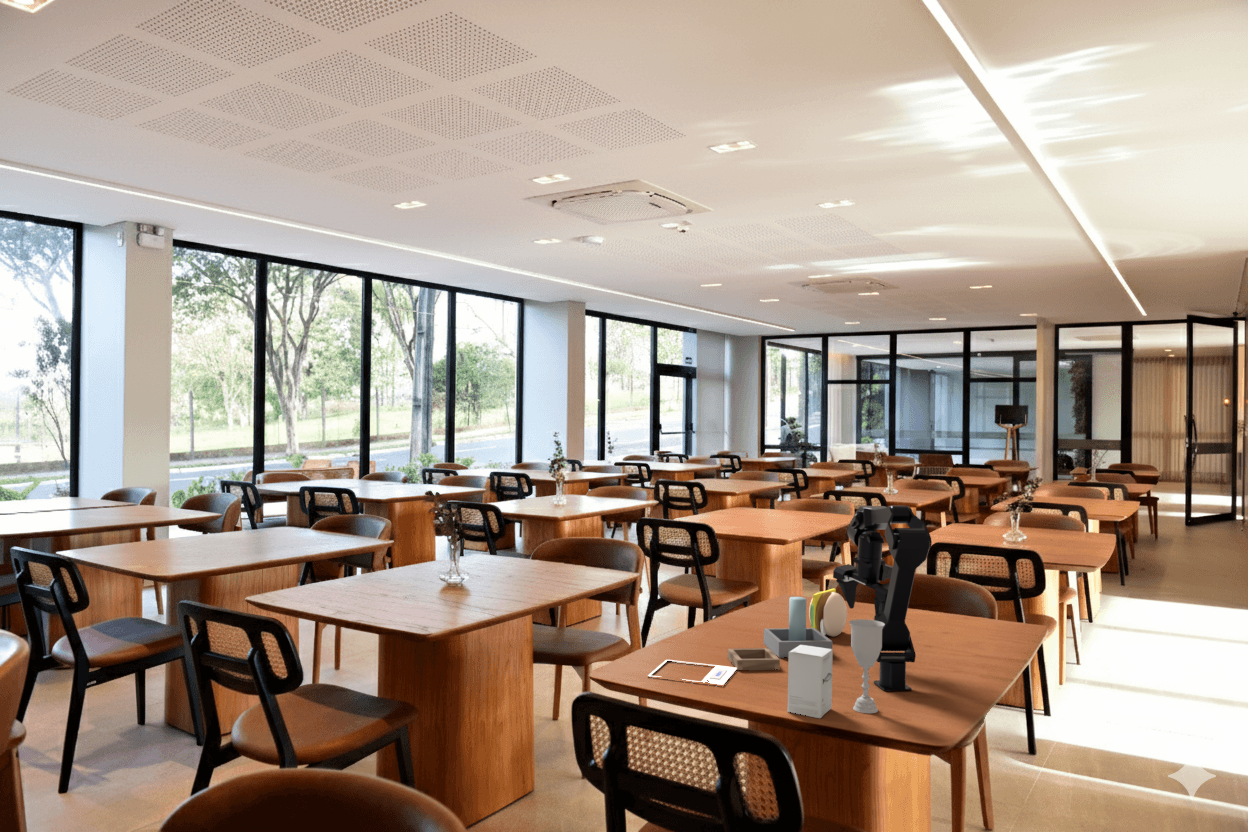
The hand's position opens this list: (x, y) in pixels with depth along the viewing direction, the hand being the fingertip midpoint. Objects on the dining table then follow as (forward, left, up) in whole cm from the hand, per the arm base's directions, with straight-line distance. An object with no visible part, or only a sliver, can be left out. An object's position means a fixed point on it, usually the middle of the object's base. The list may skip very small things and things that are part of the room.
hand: (865, 614), depth 216 cm
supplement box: (-34, +26, -12) cm, 45 cm away
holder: (0, +29, -12) cm, 31 cm away
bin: (+12, +14, -12) cm, 21 cm away
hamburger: (+27, 0, -12) cm, 29 cm away
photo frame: (-7, +45, -12) cm, 47 cm away
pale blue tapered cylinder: (+12, +14, -11) cm, 21 cm away
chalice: (-34, +14, -12) cm, 39 cm away
